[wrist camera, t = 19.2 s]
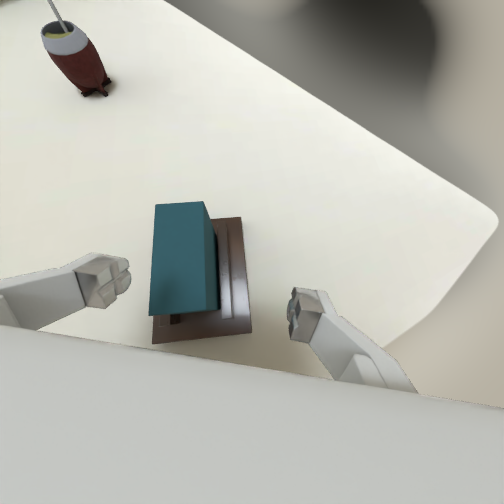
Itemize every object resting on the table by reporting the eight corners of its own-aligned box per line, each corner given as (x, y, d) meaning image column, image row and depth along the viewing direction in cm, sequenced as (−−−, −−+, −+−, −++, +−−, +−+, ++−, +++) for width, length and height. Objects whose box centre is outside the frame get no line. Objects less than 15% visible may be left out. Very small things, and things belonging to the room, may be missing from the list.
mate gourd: (93, 106, 35) (-14, -36, 20) (68, 86, 36) (-48, -60, 22) (125, 86, 37) (48, -56, 22) (101, 68, 38) (13, -77, 24)
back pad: (220, 309, 23) (206, 309, 15) (184, 313, 23) (148, 315, 14) (217, 236, 26) (203, 201, 18) (185, 239, 26) (155, 204, 17)
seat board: (251, 331, 24) (252, 336, 20) (157, 342, 23) (137, 349, 19) (241, 221, 29) (240, 205, 24) (162, 227, 28) (147, 212, 24)
